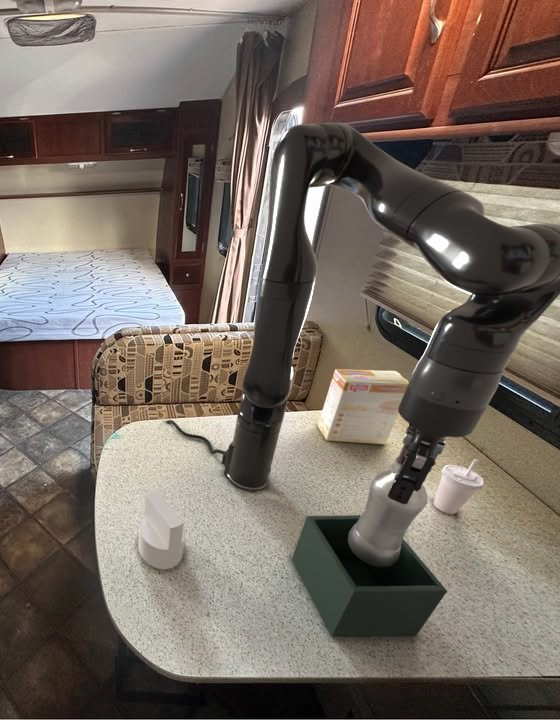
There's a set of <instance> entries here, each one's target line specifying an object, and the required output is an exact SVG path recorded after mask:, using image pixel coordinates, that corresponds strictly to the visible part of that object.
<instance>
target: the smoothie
mask: <svg viewBox="0 0 560 720" xmlns="http://www.w3.org/2000/svg"><path fill="white" fill-rule="evenodd" d="M478 462H479V460H478V459H477V458H474V459H473V460H472V462H471V464H470V465H469V466H468V468H467V467H465V466H461V465H458V464H456V465H455V464H447V465H445V466H443V468H442V469H441V478H440V481H439V485H438V488H437V491H436V495H435V497H434V500H433V505H434V507H435V508H436V509H438V510H439V511H441V512H442V513H445V514H447V515H455V514H456V513H457V512H458V511H459V510H460V509H461V508H462V507H463V506H464V505H465V504H466V503H467V502H468V501H469V499H471V497H473V495H474V494H475V493H477V491H479V490H481V489H483V487H484V485H485V480H484V479H483V478H482V476H481V475H480V474H478V473H476V472H475V471H473V470H474V469H475V467H476V465H477V463H478Z"/></svg>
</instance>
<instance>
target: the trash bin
mask: <svg viewBox="0 0 560 720" xmlns="http://www.w3.org/2000/svg"><path fill="white" fill-rule="evenodd" d="M361 515H362V514H359V515H357V514H355V515H306V517H305V519H304V522H303V525H302V528H301V531H300V534H299V537H298V539H297V542H296V546H295V548H294V551H293V554H292V556H291V562H292V563H293V566H294V567H295V569H296V571H297V573H298V575H299V577H300V579H301V582H302V583H303V585H304V587H305V589H306V590H307V593H308V594H309V596H310V598H311V600H312V602H313V604H314V606H315V608H316V610H317V612H318V614H319V615H320V618H321V619H322V621H323V623H324V625H325V628H326V629H327V631H328V633H329V635H330V636H331V638H332V637H333V638H337V637H340V638H342V637H343V638H344V637H347V638H349V637H351V638H352V637H353V638H355V637H357V638H358V637H359V638H360V637H369V638H371V637H373V638H374V637H376V638H379V637H381V638H382V637H405V638H406V637H409V638H410V637H417V636H418V634H419V633H420V631H421V630H422V628H423V627H424V625H425V624H426V623H427V622H428V620H429V618H430V617H431V616H432V614H433V613H434V611H435V610H436V608H437V607H438V606H439V604H440V603H441V602H442V600H443V598H444V597H445V595H446V594H447V593H448V590H447V588H446V587H445V586H444V585H443V583H441V581H440V580H439V579H438V578H437V577H436V575H435V574H434V573H433V572H432V571H431V570H430V568H429V567H428V566H427V565H426V564H425V562H424V561H423V560H422V559H421V558H420V557H419V556H418V554H417V553H416V551H414V550H413V549H412V547H411V546H410V545H409V544H408V542H407V541H406V540H405V539H404V538H403V540H402V543H401V551H400V555H399V558H398V560H397V561H396V562H394V563H393V564H392V565H391V566H389V567H375V566H372V565H369V564H367V563H365V562H363V561H362V560H360V559H359V558H358V557H357V556H356V555H355V554H354V553H353V552H352V550H351V548H350V546H349V544H348V536H349V532H350V530H351V528H352V527H353V526H354V525H355V524H356V523H357V522H358V520H359V518H360V517H361Z"/></svg>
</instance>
